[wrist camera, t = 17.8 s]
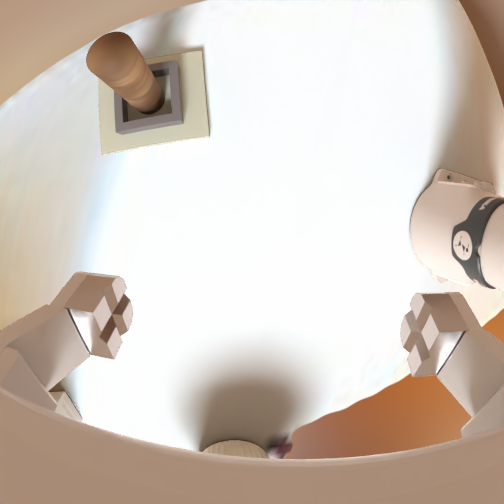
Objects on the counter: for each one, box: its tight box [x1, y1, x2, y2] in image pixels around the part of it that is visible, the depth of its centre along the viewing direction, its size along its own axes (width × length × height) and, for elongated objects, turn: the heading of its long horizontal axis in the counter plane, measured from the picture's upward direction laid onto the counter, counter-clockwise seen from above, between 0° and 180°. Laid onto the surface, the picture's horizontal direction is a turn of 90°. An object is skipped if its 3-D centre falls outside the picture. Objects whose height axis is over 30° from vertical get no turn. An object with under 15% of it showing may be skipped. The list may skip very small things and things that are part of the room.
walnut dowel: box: [86, 32, 165, 115], centre depth 25 cm, size 4×4×16 cm
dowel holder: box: [99, 50, 209, 155], centre depth 32 cm, size 14×12×4 cm
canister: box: [203, 440, 270, 459], centre depth 39 cm, size 18×18×21 cm
